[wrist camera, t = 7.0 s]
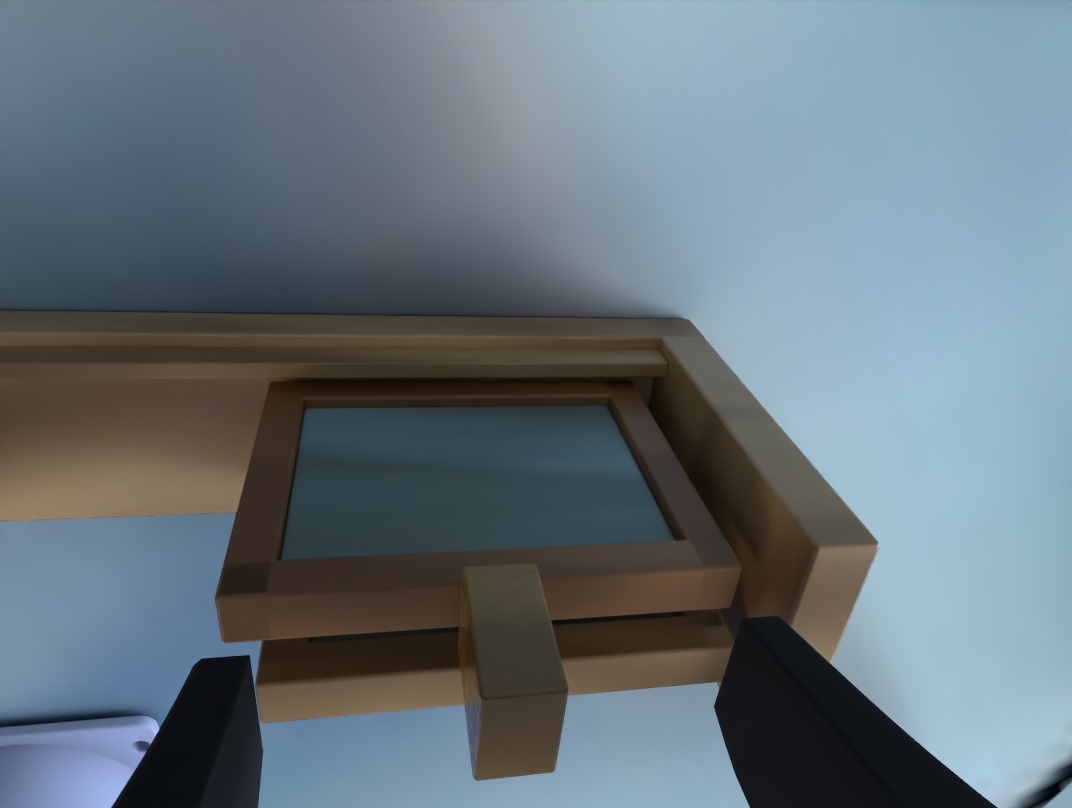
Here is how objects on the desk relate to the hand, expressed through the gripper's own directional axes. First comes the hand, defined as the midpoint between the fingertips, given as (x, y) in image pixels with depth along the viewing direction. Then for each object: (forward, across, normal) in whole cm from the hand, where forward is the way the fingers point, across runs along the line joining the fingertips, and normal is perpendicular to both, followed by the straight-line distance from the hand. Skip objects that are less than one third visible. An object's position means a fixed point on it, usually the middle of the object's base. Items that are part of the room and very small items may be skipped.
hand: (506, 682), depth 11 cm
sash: (+8, 0, 0) cm, 8 cm away
